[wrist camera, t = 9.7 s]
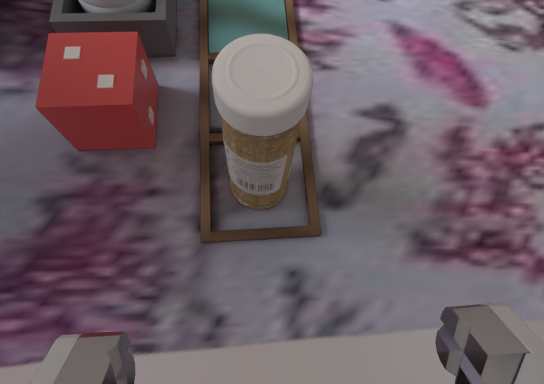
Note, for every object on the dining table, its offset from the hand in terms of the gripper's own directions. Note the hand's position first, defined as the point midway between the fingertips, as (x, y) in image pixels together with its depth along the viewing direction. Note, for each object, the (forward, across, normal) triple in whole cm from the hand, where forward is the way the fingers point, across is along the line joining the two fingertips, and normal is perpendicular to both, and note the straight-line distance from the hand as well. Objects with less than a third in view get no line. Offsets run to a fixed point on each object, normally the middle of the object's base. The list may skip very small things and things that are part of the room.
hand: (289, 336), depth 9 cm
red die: (+24, +11, -1) cm, 26 cm away
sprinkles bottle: (+19, 0, +4) cm, 20 cm away
